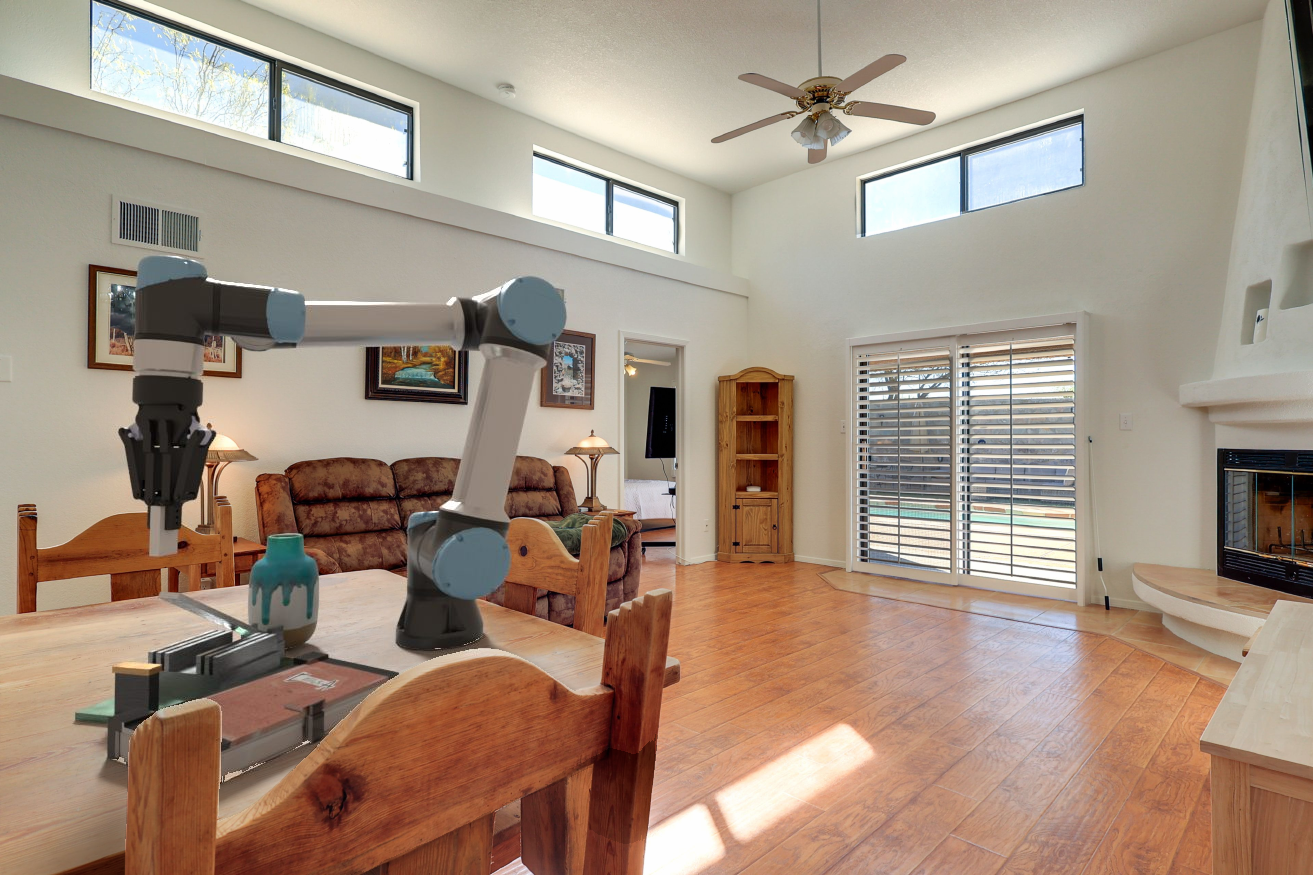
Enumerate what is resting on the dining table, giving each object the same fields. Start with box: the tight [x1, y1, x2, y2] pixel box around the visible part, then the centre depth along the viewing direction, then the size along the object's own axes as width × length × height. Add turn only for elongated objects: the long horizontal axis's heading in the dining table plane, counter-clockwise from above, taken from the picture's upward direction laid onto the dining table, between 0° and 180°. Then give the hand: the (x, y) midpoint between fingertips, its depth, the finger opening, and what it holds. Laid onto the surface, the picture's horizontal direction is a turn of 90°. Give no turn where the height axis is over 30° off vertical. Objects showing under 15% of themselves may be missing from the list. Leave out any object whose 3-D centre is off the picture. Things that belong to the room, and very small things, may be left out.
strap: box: [157, 591, 265, 637], centre depth 97 cm, size 3×20×1 cm
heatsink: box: [74, 623, 294, 725], centre depth 94 cm, size 15×24×7 cm, turn 170°
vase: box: [247, 533, 320, 650], centre depth 114 cm, size 11×11×19 cm
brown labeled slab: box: [106, 650, 400, 785], centre depth 83 cm, size 26×18×5 cm
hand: (163, 554), depth 88 cm, fingers closed
